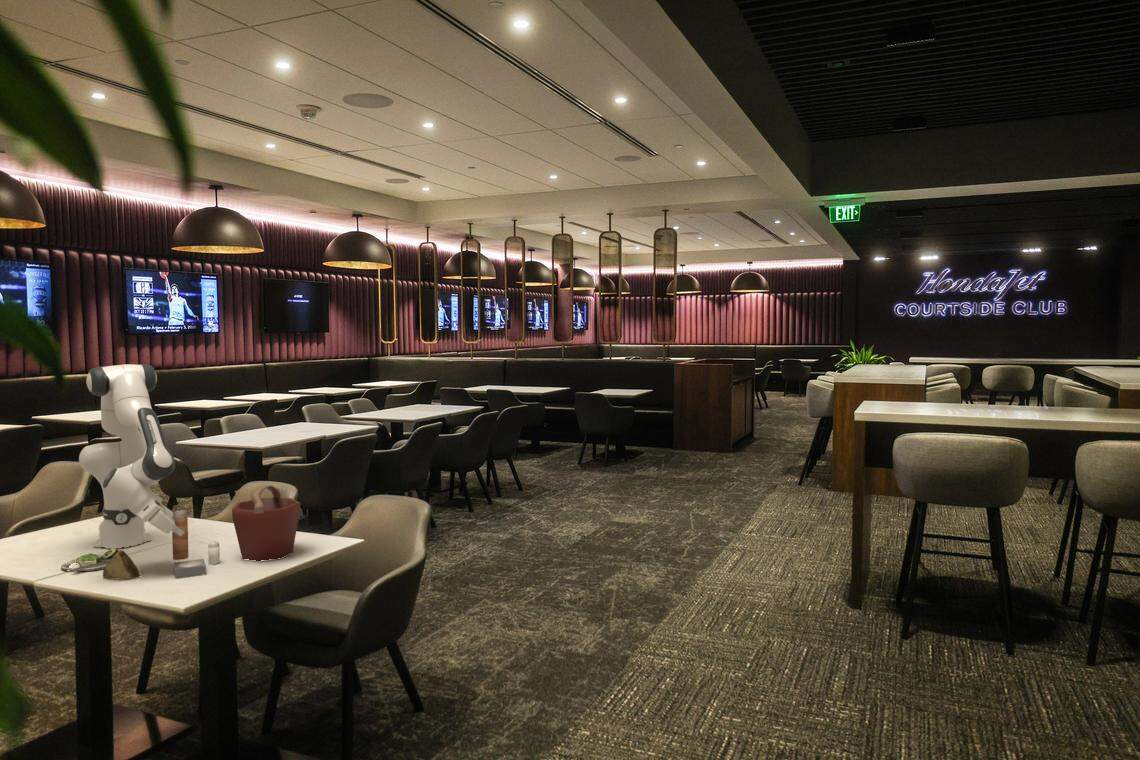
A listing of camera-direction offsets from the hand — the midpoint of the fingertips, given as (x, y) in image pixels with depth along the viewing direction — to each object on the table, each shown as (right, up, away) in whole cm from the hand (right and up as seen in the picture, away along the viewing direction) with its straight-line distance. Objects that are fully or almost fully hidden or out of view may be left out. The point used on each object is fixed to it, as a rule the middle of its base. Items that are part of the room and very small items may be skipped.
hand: (182, 531), depth 264 cm
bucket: (+23, -11, +15) cm, 29 cm away
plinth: (+6, -12, -6) cm, 15 cm away
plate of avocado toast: (-32, -12, +4) cm, 34 cm away
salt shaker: (+9, -12, +5) cm, 16 cm away
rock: (-15, -13, -11) cm, 22 cm away
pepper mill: (-1, -9, 0) cm, 9 cm away
